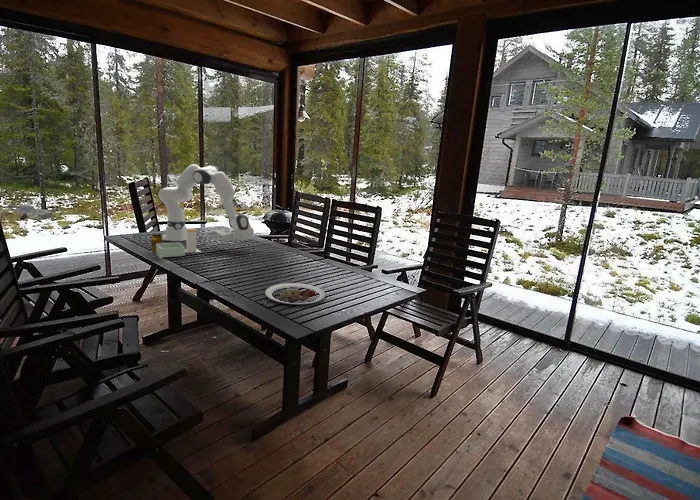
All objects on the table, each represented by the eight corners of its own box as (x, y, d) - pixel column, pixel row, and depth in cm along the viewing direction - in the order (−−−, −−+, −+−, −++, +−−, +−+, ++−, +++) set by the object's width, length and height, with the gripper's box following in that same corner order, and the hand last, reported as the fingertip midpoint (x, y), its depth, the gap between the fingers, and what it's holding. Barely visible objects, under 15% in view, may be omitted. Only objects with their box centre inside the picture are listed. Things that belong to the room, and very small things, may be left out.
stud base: (181, 251, 259) (181, 240, 257) (197, 250, 265) (197, 239, 263) (185, 255, 251) (185, 243, 250) (201, 253, 257) (201, 242, 255)
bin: (156, 254, 247) (155, 243, 246) (179, 252, 256) (179, 242, 254) (160, 259, 236) (160, 248, 235) (184, 257, 245) (184, 247, 243)
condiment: (148, 252, 251) (148, 233, 248) (159, 249, 259) (158, 232, 256) (157, 253, 249) (157, 235, 246) (167, 251, 256) (167, 233, 254)
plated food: (253, 292, 196) (253, 286, 195) (301, 283, 217) (301, 277, 216) (288, 312, 175) (288, 305, 174) (337, 299, 196) (337, 293, 195)
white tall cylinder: (186, 249, 258) (186, 229, 255) (194, 249, 261) (194, 228, 258) (188, 251, 254) (188, 230, 251) (196, 251, 257) (196, 230, 254)
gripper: (225, 227, 278) (205, 227, 270) (235, 232, 262) (215, 233, 254) (225, 235, 280) (206, 236, 271) (235, 241, 264) (215, 242, 255)
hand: (210, 235), depth 263 cm, fingers open, 8 cm apart
